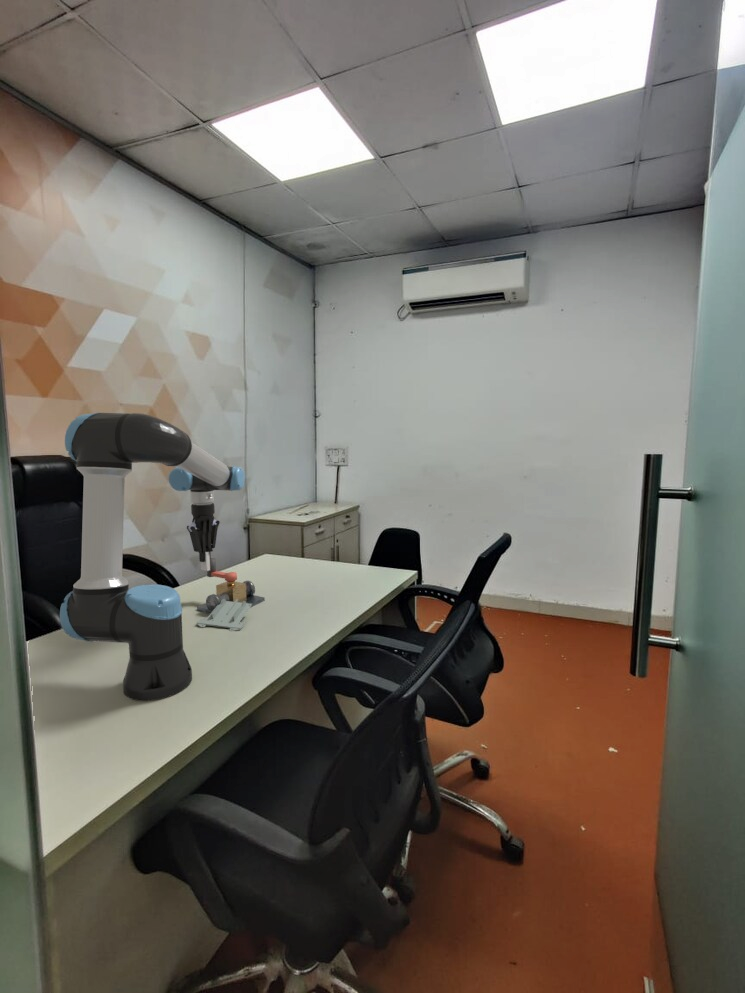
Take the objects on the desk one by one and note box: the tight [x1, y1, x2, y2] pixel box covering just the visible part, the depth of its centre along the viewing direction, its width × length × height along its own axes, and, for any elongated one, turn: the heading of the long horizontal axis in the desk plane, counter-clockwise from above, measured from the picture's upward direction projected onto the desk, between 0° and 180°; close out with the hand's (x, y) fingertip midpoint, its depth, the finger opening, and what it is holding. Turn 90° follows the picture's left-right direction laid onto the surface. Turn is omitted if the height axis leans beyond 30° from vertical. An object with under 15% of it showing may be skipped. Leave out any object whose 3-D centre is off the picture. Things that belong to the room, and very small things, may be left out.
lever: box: [206, 557, 238, 582], centre depth 168 cm, size 12×4×6 cm, turn 63°
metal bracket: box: [196, 599, 252, 632], centre depth 154 cm, size 14×6×15 cm
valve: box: [196, 580, 266, 614], centre depth 167 cm, size 18×14×9 cm
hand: (205, 570), depth 168 cm, fingers closed
